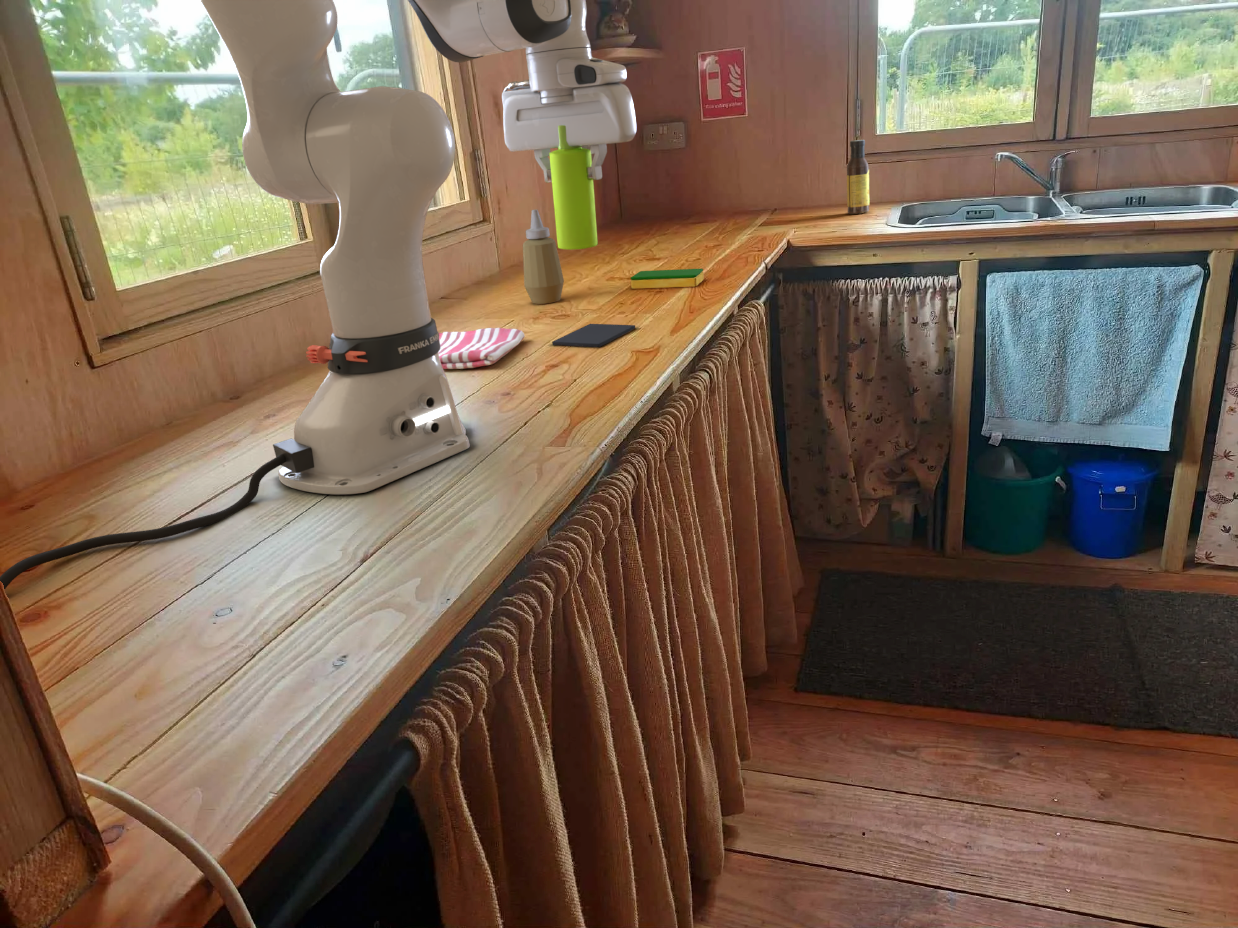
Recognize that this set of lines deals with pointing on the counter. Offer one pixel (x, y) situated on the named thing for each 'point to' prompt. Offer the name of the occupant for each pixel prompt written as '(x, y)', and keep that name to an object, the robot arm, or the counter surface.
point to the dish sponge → (667, 278)
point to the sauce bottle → (857, 179)
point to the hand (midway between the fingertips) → (573, 181)
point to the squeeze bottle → (541, 264)
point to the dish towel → (476, 347)
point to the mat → (594, 335)
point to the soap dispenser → (573, 195)
